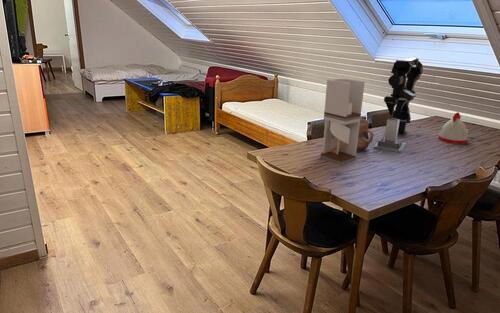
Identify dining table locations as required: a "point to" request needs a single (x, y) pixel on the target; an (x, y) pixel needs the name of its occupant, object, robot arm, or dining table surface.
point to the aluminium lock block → (391, 130)
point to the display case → (342, 119)
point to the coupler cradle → (390, 145)
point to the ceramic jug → (362, 141)
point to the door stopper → (367, 132)
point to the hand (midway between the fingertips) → (395, 113)
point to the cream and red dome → (454, 131)
